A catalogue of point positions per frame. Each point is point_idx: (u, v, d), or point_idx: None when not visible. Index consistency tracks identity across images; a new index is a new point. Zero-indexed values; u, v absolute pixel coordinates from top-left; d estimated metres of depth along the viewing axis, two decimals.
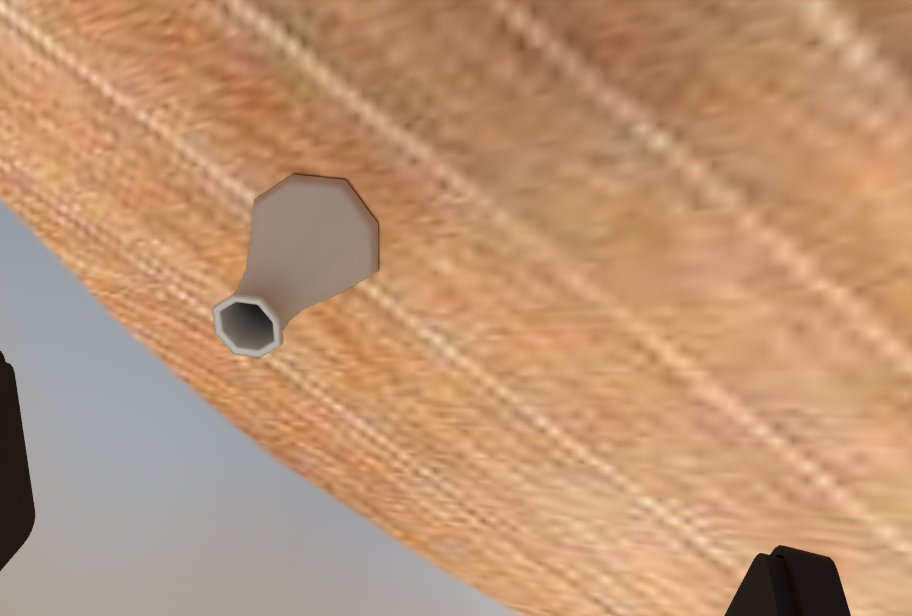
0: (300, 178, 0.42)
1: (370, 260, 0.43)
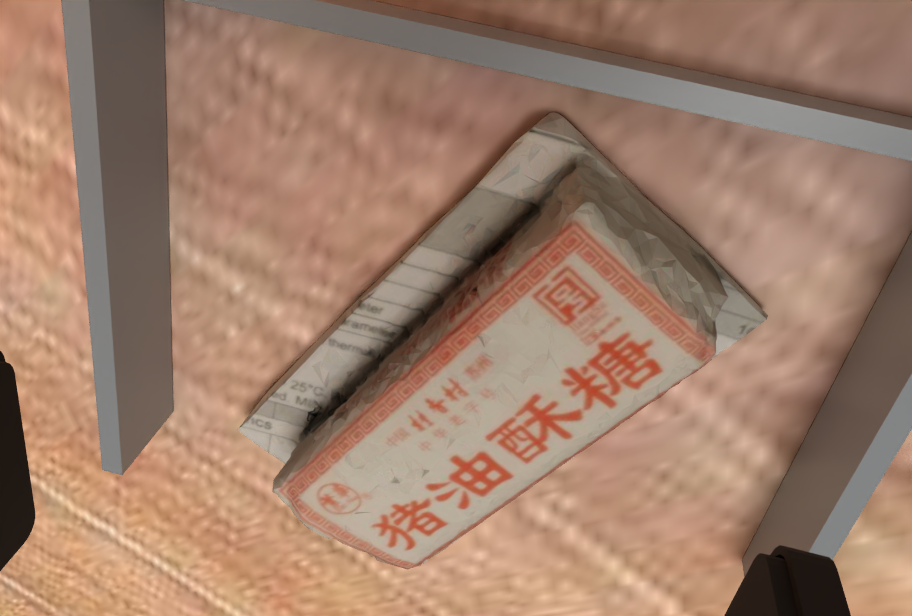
0: None
1: None
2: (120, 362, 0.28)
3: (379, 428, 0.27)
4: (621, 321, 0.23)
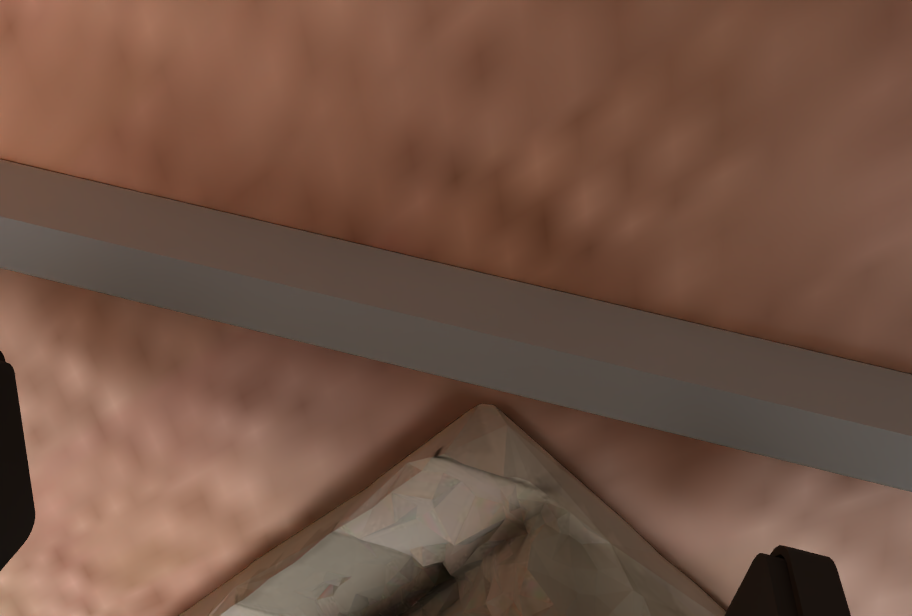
0: None
1: None
2: None
3: None
4: None
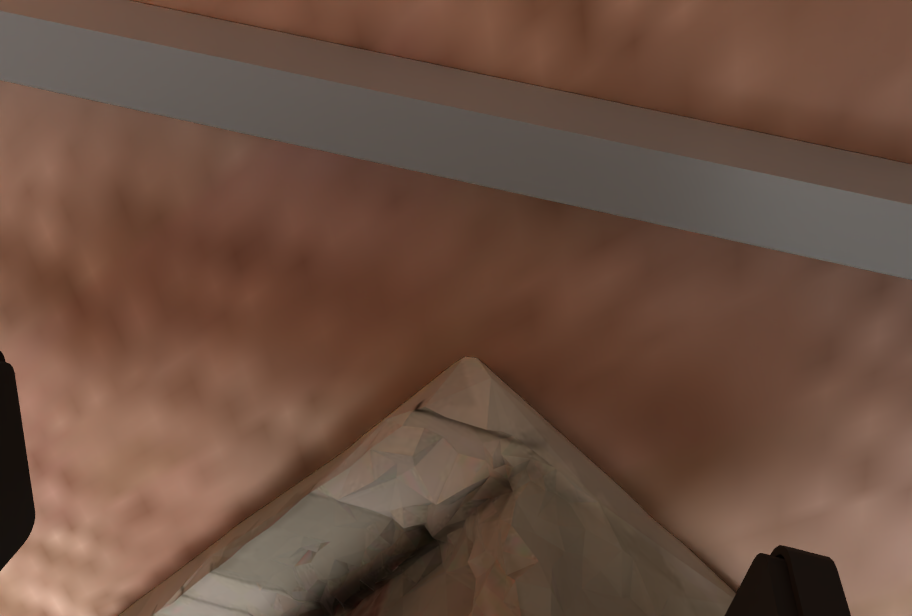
0: None
1: None
2: None
3: None
4: None
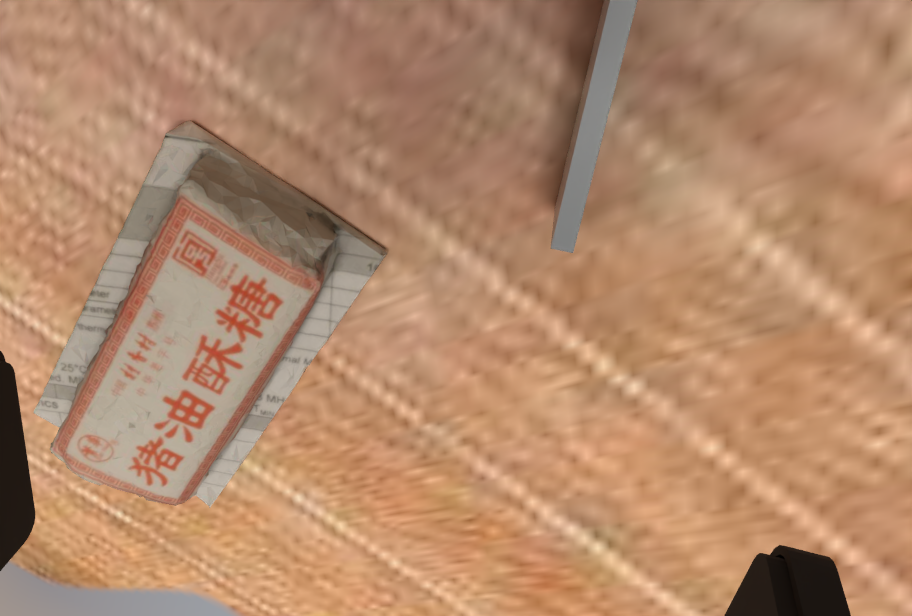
0: None
1: None
2: None
3: (103, 382, 0.34)
4: (238, 267, 0.31)
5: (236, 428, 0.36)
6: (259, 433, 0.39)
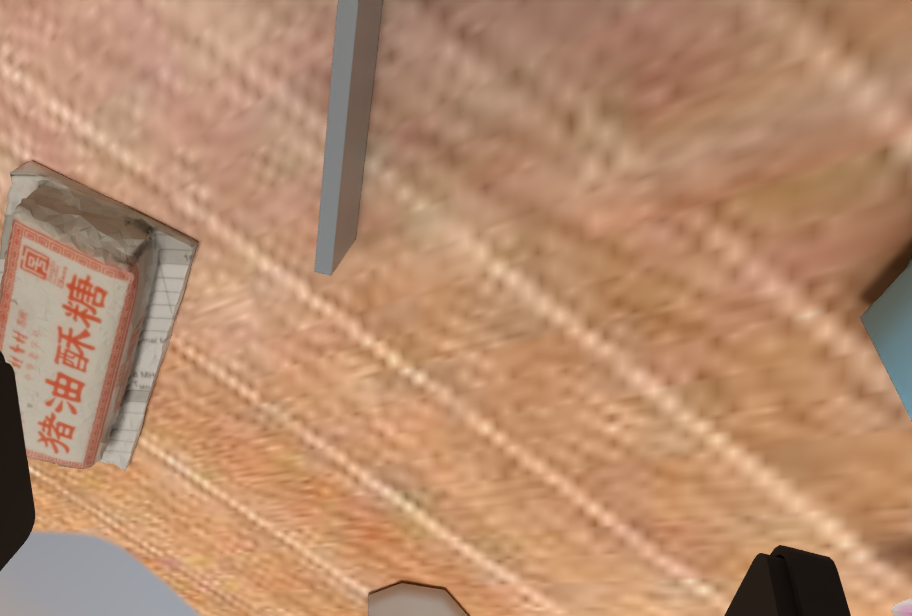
0: (408, 588, 0.52)
1: None
2: None
3: None
4: (67, 269, 0.39)
5: (112, 400, 0.45)
6: (144, 405, 0.48)
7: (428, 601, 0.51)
